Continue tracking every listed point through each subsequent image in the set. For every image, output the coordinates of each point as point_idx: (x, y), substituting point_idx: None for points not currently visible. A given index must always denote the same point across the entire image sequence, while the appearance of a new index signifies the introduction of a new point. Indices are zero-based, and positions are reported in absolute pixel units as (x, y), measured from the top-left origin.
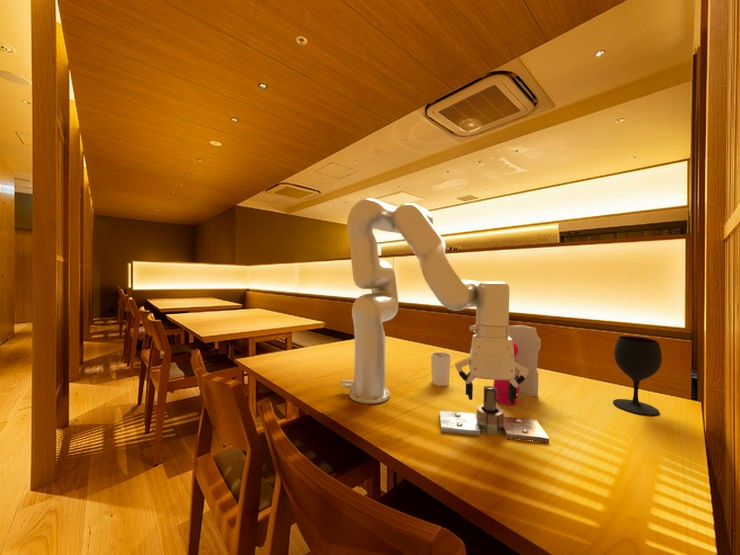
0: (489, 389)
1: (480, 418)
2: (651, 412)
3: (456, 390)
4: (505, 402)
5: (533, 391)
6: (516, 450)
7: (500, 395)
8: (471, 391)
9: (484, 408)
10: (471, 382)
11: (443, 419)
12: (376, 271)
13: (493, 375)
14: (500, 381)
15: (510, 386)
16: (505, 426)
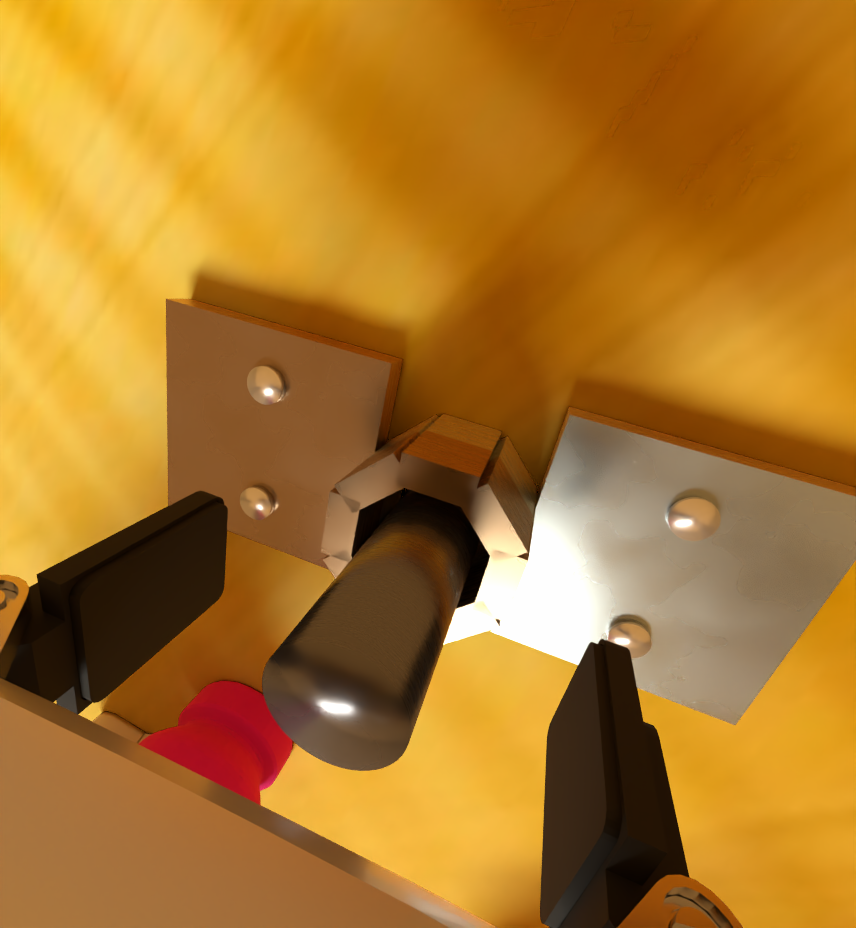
0: (359, 679)
1: (523, 509)
2: None
3: (455, 883)
4: (254, 702)
5: None
6: (404, 213)
7: (254, 752)
8: (618, 725)
9: (465, 564)
10: (607, 889)
11: (789, 608)
12: None
13: (119, 895)
14: None
15: (80, 631)
16: (362, 452)
